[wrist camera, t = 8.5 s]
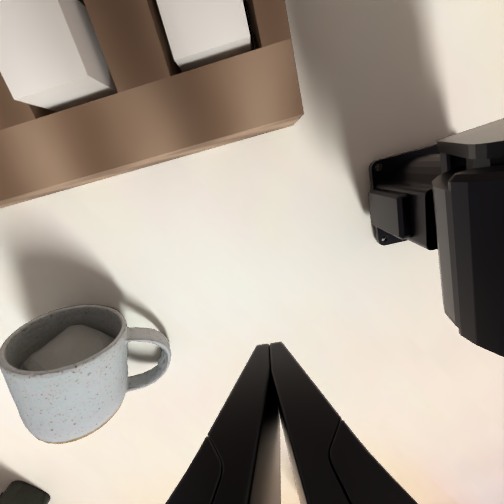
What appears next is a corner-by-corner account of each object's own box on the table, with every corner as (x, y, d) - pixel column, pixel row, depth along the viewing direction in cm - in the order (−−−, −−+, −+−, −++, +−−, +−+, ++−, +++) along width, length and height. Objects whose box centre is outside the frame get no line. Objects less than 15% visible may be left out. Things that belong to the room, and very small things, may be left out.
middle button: (89, 10, 14) (45, -31, 11) (119, 92, 15) (87, 75, 12) (23, 33, 14) (-36, -1, 11) (59, 112, 15) (14, 99, 12)
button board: (249, -110, 14) (248, -215, 10) (293, 125, 17) (303, 113, 14) (-115, 27, 16) (-231, -16, 12) (-7, 210, 20) (-69, 220, 16)
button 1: (233, -23, 14) (227, -71, 11) (251, 60, 15) (250, 35, 12) (165, 0, 14) (143, -41, 11) (188, 79, 16) (174, 60, 13)
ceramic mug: (67, 371, 25) (-7, 456, 18) (54, 299, 22) (-40, 365, 15) (174, 379, 25) (144, 465, 18) (174, 309, 23) (139, 377, 15)
